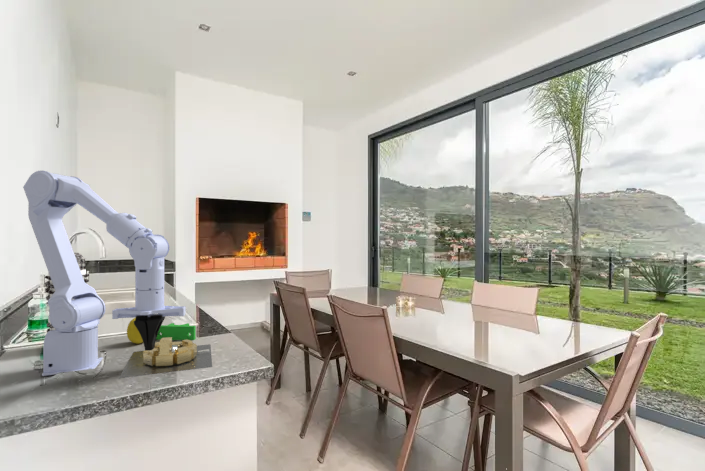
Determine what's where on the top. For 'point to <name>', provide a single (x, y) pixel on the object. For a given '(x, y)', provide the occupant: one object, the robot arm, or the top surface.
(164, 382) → the top surface
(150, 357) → the tan segmented ring
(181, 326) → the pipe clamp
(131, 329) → the lemon
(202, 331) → the top surface
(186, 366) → the dark grey square slab
